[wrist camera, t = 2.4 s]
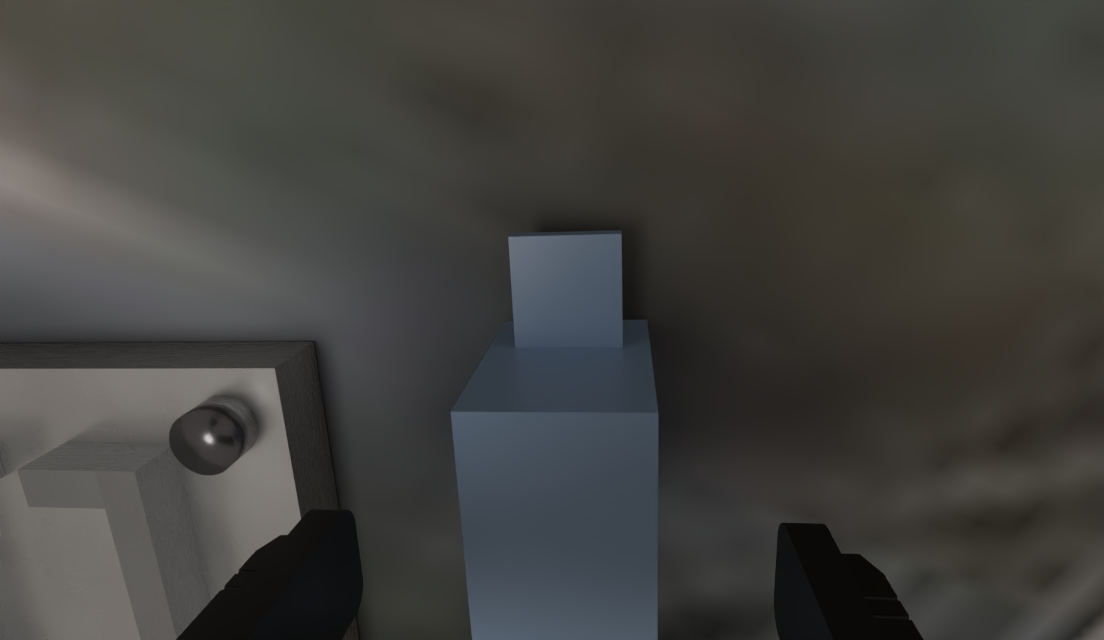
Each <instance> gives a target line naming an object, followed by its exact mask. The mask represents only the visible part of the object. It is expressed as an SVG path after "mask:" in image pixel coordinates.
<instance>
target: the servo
mask: <svg viewBox="0 0 1104 640" xmlns="http://www.w3.org/2000/svg"><path fill="white" fill-rule="evenodd" d="M508 241H509V257H510V273H511V289H512V305H513V321H505V322H504V323H503V325H502V327H501V328H500V330H499V332H498V333H497V335H496V337H495V338H494V340H493V342H492V343H491V345H490V347H489V348H488V350H487V352H486V353H485V355H484V357H483V358H482V360H481V362H480V363H479V365H478V367H477V368H476V370H475V372H474V373H473V375H472V377H471V378H470V380H469V382H468V383H467V385H466V387H465V388H464V390H463V392H462V393H461V395H460V397H459V398H458V400H457V402H456V403H455V405H454V407H453V408H452V410H451V423H452V433H453V443H454V454H455V464H456V475H457V485H458V496H459V506H460V517H461V527H462V537H463V548H464V558H465V569H466V579H467V590H468V600H469V611H470V621H471V631H472V640H657V612H658V405H657V397H656V389H655V381H654V372H653V364H652V356H651V348H650V340H649V331H648V323H647V320H623V312H622V230H608V231H570V232H532V233H512V234H511V235H510V236H509V237H508Z"/></svg>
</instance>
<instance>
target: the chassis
mask: <svg viewBox="0 0 1104 640" xmlns="http://www.w3.org/2000/svg"><path fill="white" fill-rule="evenodd" d="M312 509H323V510H339V505H338V498H337V492H336V485H335V479H334V472H333V466H332V459H331V453H330V446H329V440H328V433H327V427H326V420H325V414H324V407H323V401H322V394H321V388H320V381H319V375H318V369H317V362H316V356H315V349H314V343H313V341H306V342H147V343H0V640H176V639H177V638H178V637H179V636H180V635H181V633H182V632H183V631H184V630H185V629H186V628H187V627H188V626H189V624H190V623H191V622H192V621H193V620H194V619H195V618H196V617H197V616H198V614H199V613H200V612H201V611H202V610H203V609H204V608H205V607H206V606H207V604H208V603H209V602H210V601H211V600H212V599H213V598H214V597H215V596H216V594H217V593H218V592H219V591H220V590H224V586H225V584H226V583H227V582H228V581H229V580H230V579H231V578H232V577H233V576H234V574H238V572H239V569H240V568H241V567H242V566H243V564H244V563H245V562H246V561H247V560H248V559H249V558H250V557H251V556H252V554H253V553H254V552H255V551H256V550H258V549H259V548H261V547H263V546H264V545H266V544H267V543H269V542H270V541H272V540H273V539H275V538H277V537H278V536H280V535H288V534H289V533H290V531H291V530H292V529H293V528H294V527H295V526H296V524H297V523H298V522H299V521H300V520H301V519H302V517H303V516H304V515H305V514H306V513H307V512H308V511H309V510H312ZM342 640H359V634H358V628H357V621H356V616H355V618H354V619H353V621H352V623H351V625H350V626H349V628H348V630H347V632H346V634H345V635H344V637H343V639H342Z"/></svg>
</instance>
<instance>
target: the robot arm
mask: <svg viewBox="0 0 1104 640" xmlns="http://www.w3.org/2000/svg"><path fill="white" fill-rule="evenodd" d="M362 591H363V577H362V569H361V562H360V554H359V547H358V539H357V531H356V524H355V519H354V516H353V514H352V512H351V511H349V510H323V509H312V510H309V511H308V512H307V513H306V514H305V515H304V516H303V517H302V519H301V520H300V521H299V522H298V523H297V524H296V526H295V527H294V528H293V529H292V530H291V531H290V533H289V534H288V535H280V536H278V537H277V538H275V539H273V540H272V541H270V542H269V543H267V544H266V545H264V546H263V547H261V548H259V549H258V550H256V551H255V552H254V553H253V554H252V556H251V557H250V558H249V559H248V560H247V561H246V562H245V563H244V564H243V566H242V567H241V568H240V569H239V572H238V574H234V576H233V577H232V578H231V579H230V580H229V581H228V582H227V583H226V584H225V586H224V590H220V591H219V592H218V593H217V594H216V596H215V597H214V598H213V599H212V600H211V601H210V602H209V603H208V604H207V606H206V607H205V608H204V609H203V610H202V611H201V612H200V613H199V614H198V616H197V617H196V618H195V619H194V620H193V621H192V622H191V623H190V624H189V626H188V627H187V628H186V629H185V630H184V631H183V632H182V633H181V635H180V636H179V637H178V638H177V639H176V640H342V639H343V637H344V635H345V634H346V632H347V630H348V628H349V626H350V625H351V623H352V621H353V619H354V618H355V616H356V614H357V612H358V609H359V606H360V602H361V598H362ZM774 612H775V620H776V627H777V631H778V635H779V639H780V640H923V638H922V637H921V635H920V633H919V632H918V630H917V628H916V627H915V625H914V623H913V622H912V620H909V615H908V613H907V612H906V610H905V609H904V607H903V605H902V604H901V602H900V601H898V600H897V595H896V594H895V592H894V590H893V589H892V587H891V585H890V584H889V582H888V580H887V579H886V577H885V575H884V574H883V573H882V572H881V571H879V570H878V569H877V568H876V567H875V566H873V565H872V564H871V563H870V562H868V561H867V560H866V559H865V558H863V557H862V556H861V555H860V554H841V552H840V550H839V548H838V546H837V545H836V543H835V541H834V539H833V537H832V535H831V533H830V531H829V529H828V528H827V526H826V525H825V524H810V523H781V524H780V526H779V529H778V539H777V555H776V572H775V588H774Z"/></svg>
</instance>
